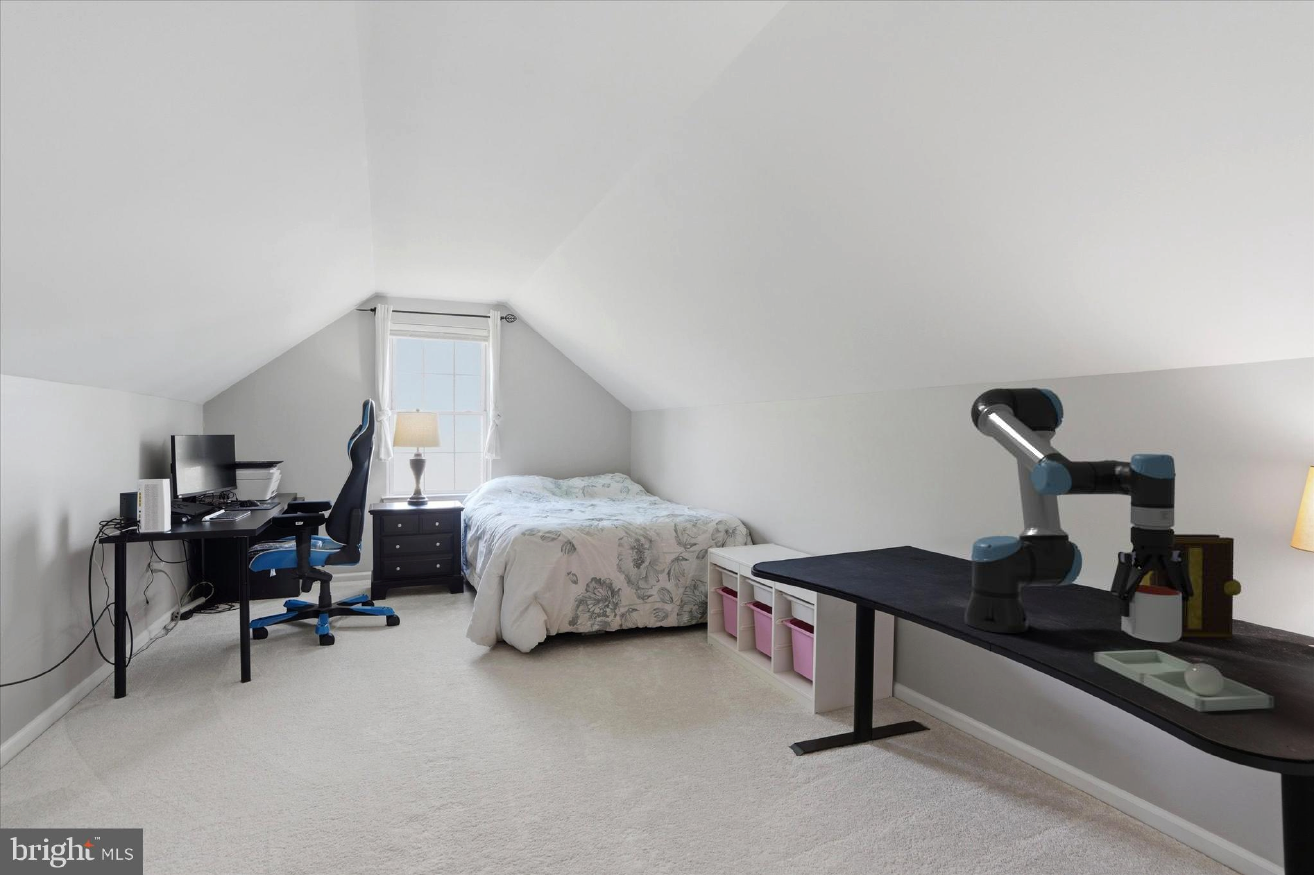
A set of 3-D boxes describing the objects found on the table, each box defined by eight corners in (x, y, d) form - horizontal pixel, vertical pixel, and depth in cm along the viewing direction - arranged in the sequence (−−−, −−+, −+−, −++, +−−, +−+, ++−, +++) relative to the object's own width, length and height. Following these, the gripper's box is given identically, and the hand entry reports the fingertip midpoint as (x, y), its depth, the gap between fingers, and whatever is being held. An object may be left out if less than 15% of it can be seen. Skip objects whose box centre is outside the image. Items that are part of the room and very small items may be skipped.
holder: (1094, 666, 149) (1094, 652, 149) (1156, 663, 150) (1156, 649, 150) (1199, 717, 123) (1199, 700, 123) (1273, 713, 124) (1273, 696, 124)
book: (1156, 637, 168) (1157, 538, 167) (1134, 627, 177) (1135, 533, 176) (1248, 639, 167) (1249, 539, 166) (1221, 628, 175) (1222, 533, 175)
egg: (1176, 689, 133) (1176, 659, 133) (1203, 687, 134) (1204, 657, 133) (1203, 701, 127) (1204, 670, 127) (1232, 700, 128) (1232, 669, 127)
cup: (1156, 629, 148) (1156, 584, 147) (1193, 643, 138) (1194, 595, 137) (1111, 629, 147) (1112, 584, 147) (1146, 644, 137) (1146, 596, 137)
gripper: (1116, 530, 137) (1115, 638, 138) (1217, 528, 139) (1216, 634, 140) (1089, 525, 145) (1088, 627, 145) (1185, 523, 147) (1184, 623, 147)
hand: (1151, 630), depth 142 cm, fingers closed on cup, 10 cm apart
